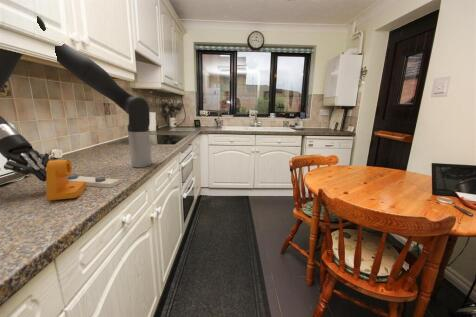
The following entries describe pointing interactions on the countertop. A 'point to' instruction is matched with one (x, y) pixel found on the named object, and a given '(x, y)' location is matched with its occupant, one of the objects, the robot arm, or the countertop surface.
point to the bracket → (62, 181)
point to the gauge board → (94, 181)
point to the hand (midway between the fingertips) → (47, 179)
